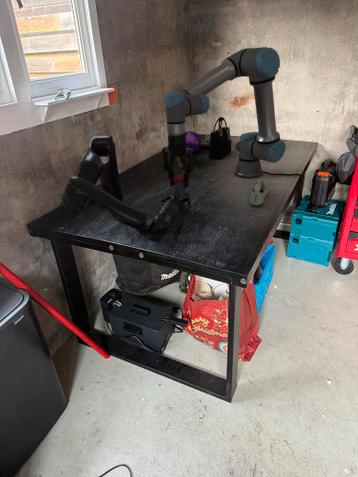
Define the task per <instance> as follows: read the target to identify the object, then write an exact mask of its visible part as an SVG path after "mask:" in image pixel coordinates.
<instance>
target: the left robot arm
mask: <svg viewBox="0 0 358 477" xmlns="http://www.w3.org/2000/svg"><path fill="white" fill-rule="evenodd" d="M116 149H117V147H116V142H115V138H114V137H113V135H110V134H109V135H94V136H92V137H91V138H90V140H89V143H88V145H87V148H86V151H85V153H84V155H83V156H82V158H81V159H80V161H79V163H78V165H77V168H76V170H75V173H74V175H73V176H72V177H70V178H69V179H68V180H67V182H66V185H65V187H64V189H63V192H62V194H61V203H60V204H61V205H62V206H63V207H64V208H65V209H66V210H67V211H69V212H71V213H81V212H82V211H84V210H85V209H87V207H88V205H89V204H92V203H94V202H98V203H99V204H101V205H102V207H104V208H106V210H107V211H108V212H109V213H110V215H111V216H112V217H113V218H114V219H115V220H116V221H117V222H119V223H120V224H122V225H124V226H127V227H129V228H131V229H133V230H135V231H137V233H139V234H140V235H141V236H143V237H144V238H145V239H147V241H150V242H152V243H159V242H161V241H162V240H163V239H164V237H165V236H166V235H167V233H168V232H169V230H170V229H171V227H172V225H173V223H174V222H175V220H177V219H178V217H179V215H180V214H181V213H182V212H181V211H182V208H184V207H185V206H186V207H187V208H189V209H190V208H192V202H191V201H192V200H191V199H192V198H191V197H190V195H189V193H185V196H184V197H182V198H180V199H175V193H173V194H172V195H171V196H170V195H167V196H165V197H164V198H162V199H161V200H160V203H161V208H160V210H159V212H158V213H157V214H156V215H155V216H154V217H153V219H152V220H151V222H150V224H149V225H148V224H147V223H146V221H147V214H146V213H145V212H143V211H141V210H139V209H137V208H135V207H133V206H131V205H129V204H126V203H125V202H124V200H123V198H124V196H123V194H122V187H121V180H120V174H119V173H120V172H119V166H118V158H117V150H116ZM103 158H108V159H107V160H106V161H103ZM98 181H99V183H100V184H99V185H100V187H99V186H98V185H96V184H97V182H98Z"/></svg>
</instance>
